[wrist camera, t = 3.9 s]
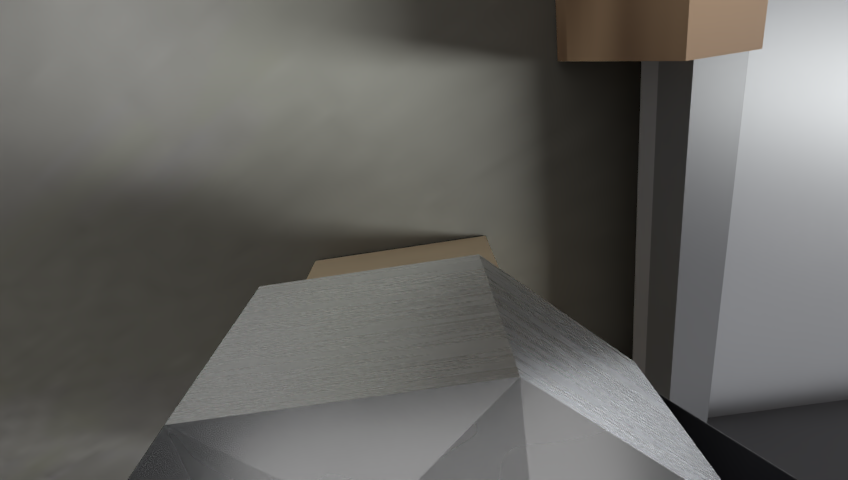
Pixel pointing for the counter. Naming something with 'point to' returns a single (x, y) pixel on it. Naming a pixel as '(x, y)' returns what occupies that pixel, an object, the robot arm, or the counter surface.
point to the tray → (751, 239)
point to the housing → (657, 29)
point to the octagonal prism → (418, 389)
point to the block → (403, 257)
